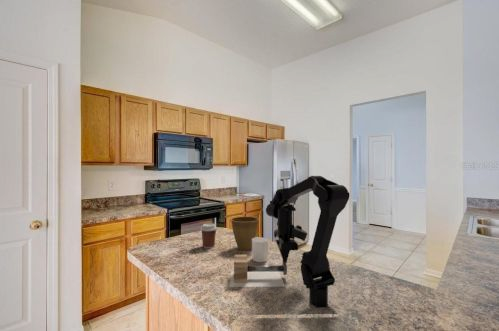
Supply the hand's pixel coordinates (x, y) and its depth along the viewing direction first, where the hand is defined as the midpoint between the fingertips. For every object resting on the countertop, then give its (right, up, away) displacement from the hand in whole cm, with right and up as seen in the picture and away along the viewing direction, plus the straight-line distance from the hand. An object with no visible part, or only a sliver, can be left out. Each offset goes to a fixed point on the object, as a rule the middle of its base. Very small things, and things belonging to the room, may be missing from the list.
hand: (284, 261), depth 92 cm
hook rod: (-8, -5, 0) cm, 9 cm away
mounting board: (-11, -7, 0) cm, 13 cm away
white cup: (-9, -8, +19) cm, 22 cm away
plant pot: (-16, -8, +36) cm, 41 cm away
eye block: (-17, -6, -1) cm, 18 cm away
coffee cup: (-37, -8, +39) cm, 54 cm away
